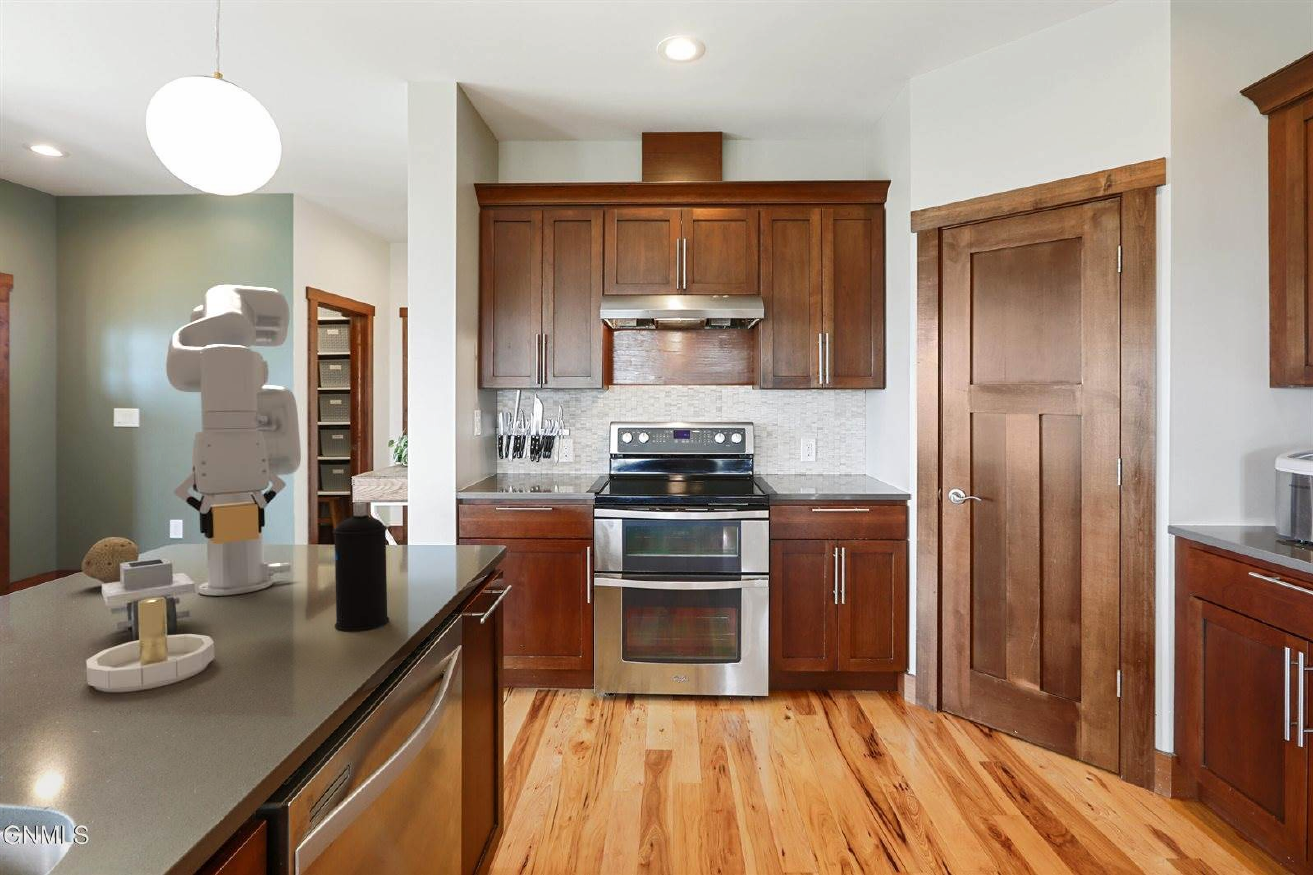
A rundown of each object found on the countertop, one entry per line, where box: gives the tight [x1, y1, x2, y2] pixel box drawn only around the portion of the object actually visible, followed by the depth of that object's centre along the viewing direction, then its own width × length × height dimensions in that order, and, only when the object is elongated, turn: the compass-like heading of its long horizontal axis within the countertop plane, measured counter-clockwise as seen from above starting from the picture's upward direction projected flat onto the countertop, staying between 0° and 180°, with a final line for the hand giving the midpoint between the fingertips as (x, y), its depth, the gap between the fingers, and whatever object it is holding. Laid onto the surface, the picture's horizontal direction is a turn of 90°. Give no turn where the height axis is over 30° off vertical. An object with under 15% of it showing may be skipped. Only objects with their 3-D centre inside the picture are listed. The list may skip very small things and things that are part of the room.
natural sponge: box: [81, 536, 140, 584], centre depth 135 cm, size 9×9×10 cm
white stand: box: [101, 557, 196, 641], centre depth 107 cm, size 11×16×10 cm
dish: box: [85, 633, 215, 693], centre depth 90 cm, size 13×13×3 cm
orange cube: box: [208, 502, 259, 544], centre depth 107 cm, size 6×5×6 cm
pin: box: [138, 597, 168, 666], centre depth 90 cm, size 3×3×9 cm
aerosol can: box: [332, 502, 390, 632], centre depth 110 cm, size 8×8×20 cm
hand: (233, 533), depth 107 cm, fingers closed on orange cube, 6 cm apart
